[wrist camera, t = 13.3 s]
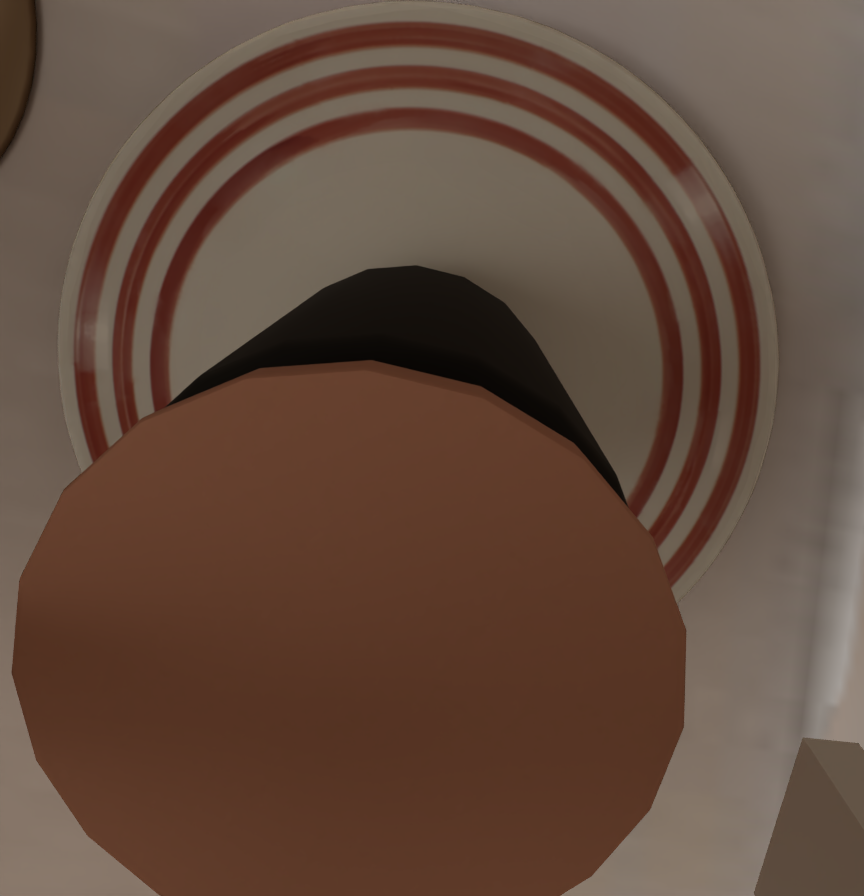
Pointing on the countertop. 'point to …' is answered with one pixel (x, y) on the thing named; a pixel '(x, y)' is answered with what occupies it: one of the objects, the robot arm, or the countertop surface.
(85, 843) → the countertop surface
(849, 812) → the robot arm
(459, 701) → the coffee jar
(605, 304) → the dinner plate
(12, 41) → the cork trivet
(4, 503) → the countertop surface
